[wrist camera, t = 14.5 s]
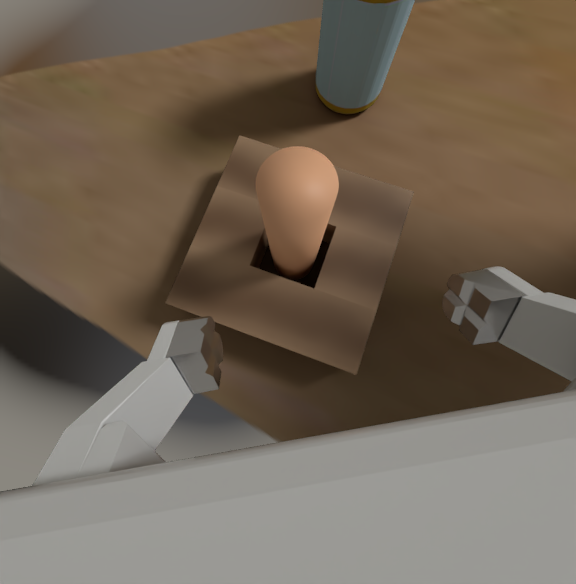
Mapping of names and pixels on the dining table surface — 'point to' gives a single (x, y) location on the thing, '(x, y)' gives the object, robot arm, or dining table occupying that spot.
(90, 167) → the dining table surface
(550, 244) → the dining table surface
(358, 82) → the bottle
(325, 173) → the peg
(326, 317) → the socket block
